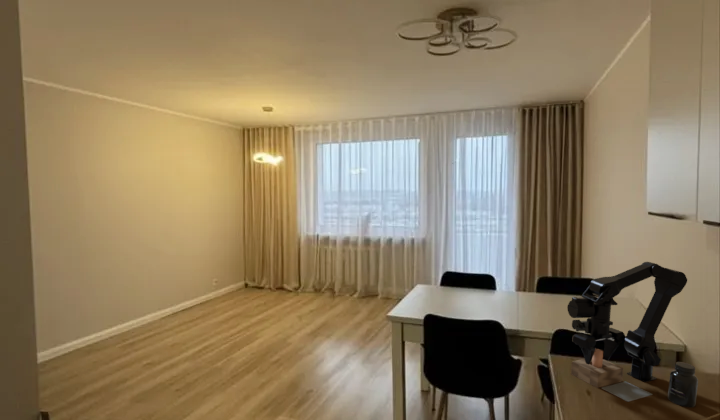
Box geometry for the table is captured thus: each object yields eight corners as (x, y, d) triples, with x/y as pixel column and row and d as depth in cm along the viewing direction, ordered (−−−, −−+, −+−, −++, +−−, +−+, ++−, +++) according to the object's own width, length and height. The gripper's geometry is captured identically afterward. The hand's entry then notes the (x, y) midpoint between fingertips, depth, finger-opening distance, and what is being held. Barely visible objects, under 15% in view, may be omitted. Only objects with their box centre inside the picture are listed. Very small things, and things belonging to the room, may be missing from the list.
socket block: (595, 369, 151) (596, 356, 150) (622, 382, 142) (623, 368, 141) (570, 375, 146) (571, 361, 146) (597, 388, 137) (598, 374, 136)
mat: (625, 382, 141) (625, 381, 141) (653, 395, 133) (653, 394, 133) (600, 389, 137) (600, 387, 137) (627, 402, 129) (627, 401, 128)
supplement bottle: (669, 404, 128) (673, 366, 127) (665, 394, 134) (668, 358, 133) (698, 411, 125) (701, 372, 124) (692, 400, 131) (696, 363, 130)
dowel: (595, 376, 146) (597, 348, 145) (603, 380, 143) (605, 351, 142) (589, 377, 145) (591, 349, 144) (597, 381, 142) (599, 352, 141)
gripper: (597, 307, 153) (595, 348, 154) (560, 312, 146) (557, 356, 147) (627, 316, 143) (624, 361, 144) (588, 323, 135) (585, 370, 137)
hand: (597, 361), depth 143 cm, fingers open, 9 cm apart
